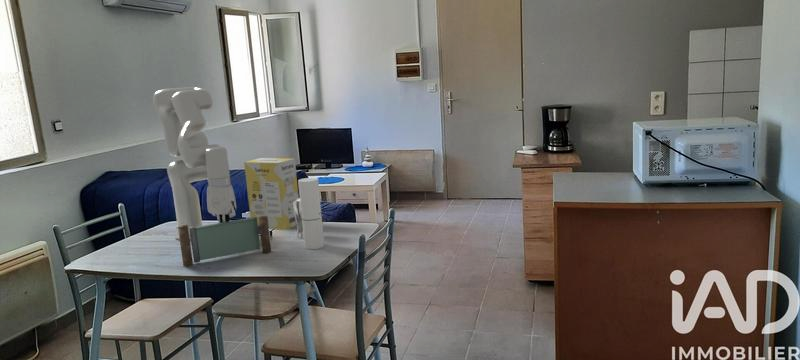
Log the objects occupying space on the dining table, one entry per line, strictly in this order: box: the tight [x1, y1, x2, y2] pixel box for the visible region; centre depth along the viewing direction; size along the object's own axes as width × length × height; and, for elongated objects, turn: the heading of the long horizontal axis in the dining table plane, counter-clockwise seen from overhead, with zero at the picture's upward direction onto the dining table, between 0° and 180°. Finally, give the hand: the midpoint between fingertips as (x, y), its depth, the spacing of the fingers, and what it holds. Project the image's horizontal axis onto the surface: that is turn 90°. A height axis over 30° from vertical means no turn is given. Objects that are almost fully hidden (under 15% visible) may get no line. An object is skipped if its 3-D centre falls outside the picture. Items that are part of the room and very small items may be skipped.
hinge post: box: [177, 225, 194, 267], centre depth 198 cm, size 3×3×14 cm
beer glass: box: [293, 197, 304, 240], centre depth 224 cm, size 7×7×15 cm
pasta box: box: [243, 157, 300, 231], centre depth 243 cm, size 18×10×28 cm, turn 63°
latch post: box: [256, 216, 272, 254], centre depth 207 cm, size 5×4×13 cm
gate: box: [189, 217, 261, 264], centre depth 204 cm, size 23×2×12 cm, turn 116°
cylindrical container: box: [297, 177, 325, 250], centre depth 209 cm, size 7×7×25 cm
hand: (225, 231), depth 207 cm, fingers closed
